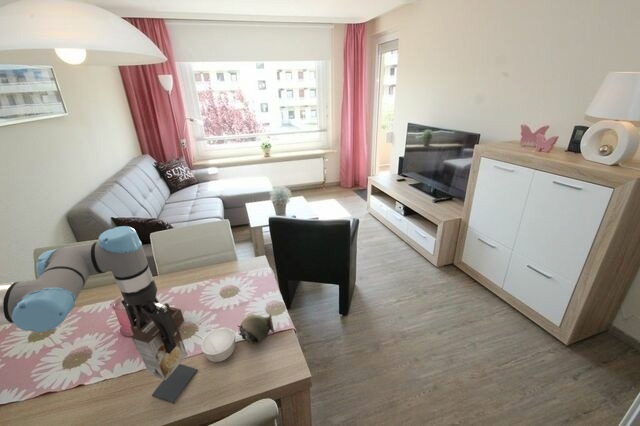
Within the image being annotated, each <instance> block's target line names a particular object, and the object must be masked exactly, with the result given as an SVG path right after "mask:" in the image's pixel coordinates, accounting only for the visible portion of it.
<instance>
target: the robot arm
mask: <svg viewBox="0 0 640 426" xmlns="http://www.w3.org/2000/svg"><path fill="white" fill-rule="evenodd" d="M109 272H111V273H112V275H113V277H114V279H115V280H114V281H115V282H116V285H117V287H118V289H119V291H120V294H121V296H122V298H123V299H121V301H120V302H121V304H122V305H123V307H124V310H125V312H126V315H127V317H128V321H129V323H130V326H132V327H135V326H136V327H137V329H138V330H140V329H141V328H142V327H143V326H144V325H145V324H146V323H148V322H149V321H148V320H147V317H148V318H149V319H152V321H153V322H154V323H155V325H156V326H157V328H158V329H159V331H160V332H161V333H162V335H163V336H162V337H161V338H162V341H163V343H164V346H165V348H166V351H167V353H168V354H170V353H171V352H172V350H173V349H174V348H175V347H176V344H175V341H174V340H175V339H174V336H173V335H174V334H175V332H176V331H177V330H179V328H178V329H177V326H176V324H175V322H174V319H173V317H172V315H171V313H170V310H169V307H170V304H169V303H168V302H165V303H164V304H163V303H160V301H159V299H158V298H157V293H158V287H157V284H156V282H155V279H154V277H153V274H152V270H151V269H150V265H149V262H148V259H147V257H146V254H145V251H144V248H143V243H142V241H141V239H140V238H139V235H138V233H137V231H136V230H135V228H133V227H131V226H128V225H123V226H122V225H121V226H115V227H114V228H110V229H107V230H105V231H103V232H102V233H101V234H99V235H98V241H94V242H87V243H83V244H76V245H70V246H62V247H58V248H54V249H52V250H46V251H44V252H43V253H41V254H40V255H39V257H38V258H37V263H36V273H37V275H38V277H37V279H32V280H30V279H29V280H21V281H15V282H14V281H12V282H2V283H1V282H0V326H3V325H10V324H14V326H15V327H16V328H18V329H20V330H22V331H24V332H29V331H30V332H34V333H45V332H49V331H52V330H53V329H55V328H58V327H59V326H60V325H61V324H62V323H63V322H64V321H65V320H66V318H67V317H68V316H69V314H70V313H71V312H72V310H73V309H74V307H75V305H76V301H77V299H78V298H79V295H80V294H81V291H82V290H83V289H84V287H85V285H86V283H87V282H88V279H89V278H90V277H91V276H96V275H101V274H104V273H109ZM152 313H153V314H152ZM151 314H152V315H151Z"/></svg>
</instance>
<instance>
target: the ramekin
mask: <svg viewBox="0 0 640 426" xmlns="http://www.w3.org/2000/svg"><path fill="white" fill-rule="evenodd" d="M235 347H236V333H235V332H234V330H233V329H231V328H229V327H217V328H215V329H212V330H210V331H209V332H207V333H206V335H205V336H204V337H203V338H202V339H201V343H200V350H201V352H202V354H204V356H205V357H206V358H207V359H208V361H210V362H212V363H213V362H214V363H218V362H223V361H225V360H227V359H229V357H230V356H232V354H233V353H234V352H235V351H234V350H235V349H236V348H235Z"/></svg>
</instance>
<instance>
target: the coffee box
mask: <svg viewBox="0 0 640 426" xmlns="http://www.w3.org/2000/svg"><path fill="white" fill-rule="evenodd" d="M173 319H174V318H173ZM174 322H175V319H174ZM175 324H176V322H175ZM176 326H177V325H176ZM177 329H178V330H177V331H176V332H175V334H174V335H173V336H174V339H175V340H174V341H175V344H176V347H175V348H174V349H173V350H172V352H171V353H170V354H168V353H167V351H166V348H165V346H164V343H163V341H162V338H161V337H162V336H163V335H162V333H161V332H160V331H159V329H158V328H157V326H156V325H155V323H154V322H153V321H152V319H151V320H150V321H149V322H148V323H146V324H145V325H144V326H143V327H142V328H141V329H140V330H139V331H138V332H137V333H136V334H133V335H132V336H131V339H132V341H133V343H134V345H135V347H136V349H137V351H138V353H139V356H140V358H141V360H142V362H143V364H144V366H145V369H146V370H147V373H148V375H150V376H151V377H155V378H158V379H161V380H162V381H163V380H166V379H167V378H168V377H169V376H170V375H171V374H172V372H173V371H174V370H175V369H176V368H177V366H178V365H179V364H181V363H182V362H183V361H184V359H186V357H187V356H188V352H187V349H186V346H185V344H184V341H183V339H182V336H181V333H180V330H179V327H177Z"/></svg>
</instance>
